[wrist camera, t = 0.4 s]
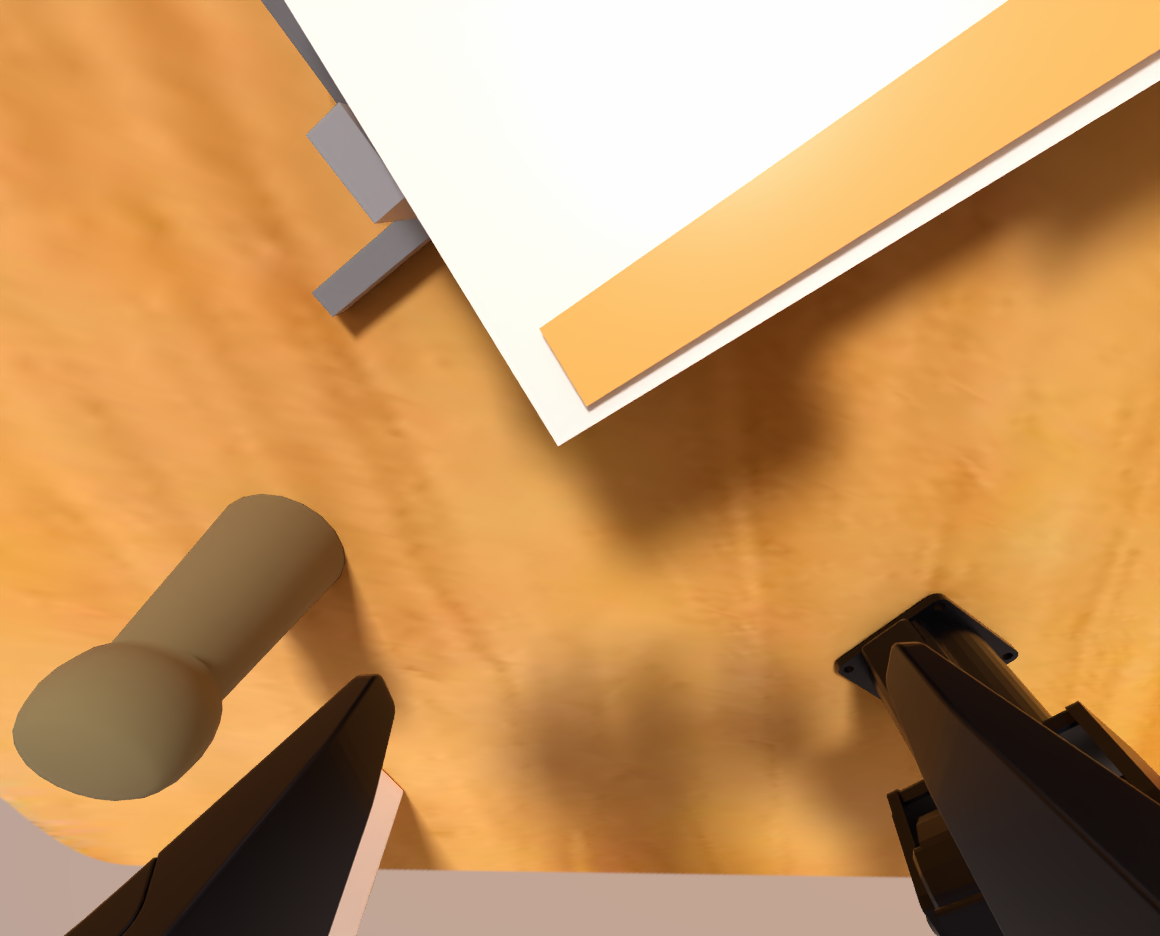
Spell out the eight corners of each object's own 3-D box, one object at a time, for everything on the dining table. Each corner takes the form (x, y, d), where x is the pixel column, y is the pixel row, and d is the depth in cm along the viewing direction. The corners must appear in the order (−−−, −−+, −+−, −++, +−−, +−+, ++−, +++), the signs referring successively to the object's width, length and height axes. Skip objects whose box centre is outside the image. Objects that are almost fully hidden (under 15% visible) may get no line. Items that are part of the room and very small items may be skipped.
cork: (370, 557, 25) (223, 788, 15) (294, 611, 27) (121, 848, 17) (267, 470, 23) (19, 676, 13) (193, 536, 24) (-72, 759, 15)
